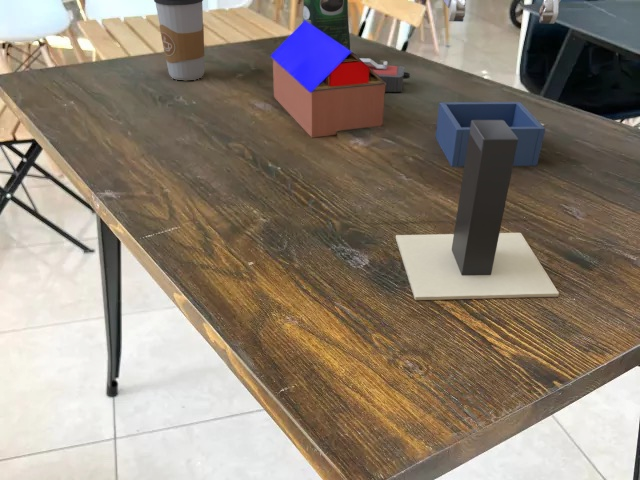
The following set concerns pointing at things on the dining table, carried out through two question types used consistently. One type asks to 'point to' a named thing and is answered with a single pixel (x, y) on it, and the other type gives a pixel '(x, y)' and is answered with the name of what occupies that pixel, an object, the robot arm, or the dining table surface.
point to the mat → (447, 282)
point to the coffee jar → (329, 18)
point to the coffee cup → (182, 37)
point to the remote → (483, 195)
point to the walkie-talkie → (388, 74)
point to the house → (325, 84)
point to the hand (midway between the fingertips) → (502, 19)
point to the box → (459, 115)
